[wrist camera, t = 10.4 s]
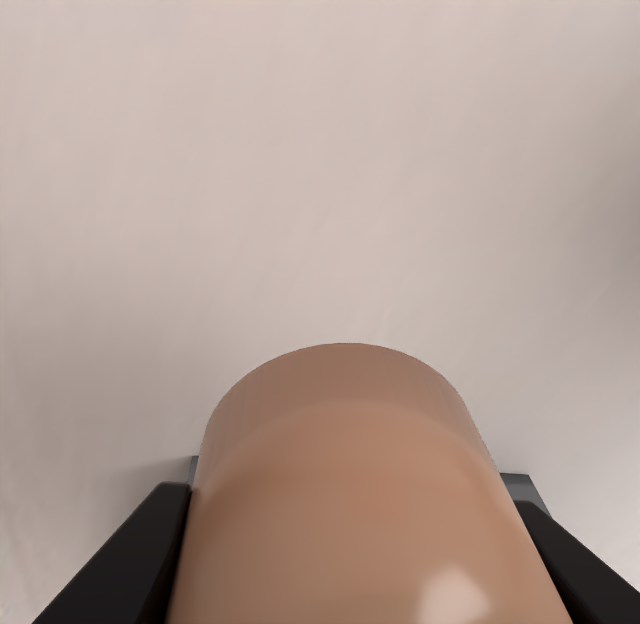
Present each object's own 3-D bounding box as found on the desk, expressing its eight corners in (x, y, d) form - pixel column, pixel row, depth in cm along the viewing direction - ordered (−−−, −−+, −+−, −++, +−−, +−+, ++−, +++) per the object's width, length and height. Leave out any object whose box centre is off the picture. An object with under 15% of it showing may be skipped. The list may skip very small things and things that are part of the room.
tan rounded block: (506, 354, 8) (679, 600, 5) (442, 563, 10) (529, 854, 6) (204, 331, 8) (133, 582, 4) (197, 553, 10) (143, 860, 6)
